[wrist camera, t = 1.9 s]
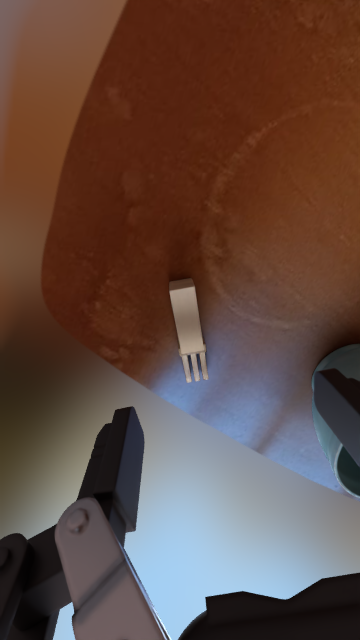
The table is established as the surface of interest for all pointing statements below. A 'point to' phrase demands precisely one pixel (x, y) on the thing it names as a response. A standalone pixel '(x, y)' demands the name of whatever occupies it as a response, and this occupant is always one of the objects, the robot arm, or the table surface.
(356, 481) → the flower pot
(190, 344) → the fork
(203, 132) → the table surface
